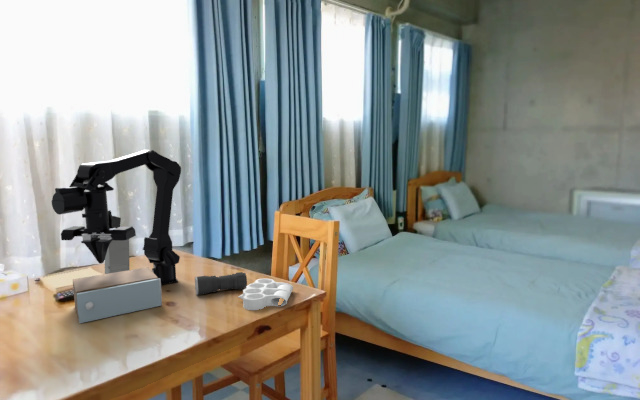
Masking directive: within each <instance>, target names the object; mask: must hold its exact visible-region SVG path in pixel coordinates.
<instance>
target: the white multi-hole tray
mask: <svg viewBox="0 0 640 400" xmlns="http://www.w3.org/2000/svg"><path fill="white" fill-rule="evenodd" d="M293 290H294V287H293V285H292V284H290V283H287V282H283V281H282V282H277V281H275V280H274V279H272V278H258V279H255V280H254V282H251V283H249V284H247V286H246V288H244V289H242V294H240V295H239V296H237V298H239V299H241V300H242V301H243V302H242V304H243V309H244V310H249V311H258V310H259V309H260V310H263V309H265V308H266V306H267V307H279V306H278V302H279V299H280V298H282V299H284V301H283V303H282V304H281V306H280V307H283V306H285V305H287V304H288V300H289V299H290V297H291V294H292V291H293ZM264 307H265V308H264Z"/></svg>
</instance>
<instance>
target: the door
mask: <svg viewBox="0 0 640 400" xmlns="http://www.w3.org/2000/svg"><path fill="white" fill-rule="evenodd" d="M76 294H77V304H78V315H79V320H78V323H79V324H83V323H87V322H88V323H89V322H93V321H96V320H101V319H105V318H110V317H114V316H119V315H120V316H121V315H125V314H128V313H133V312H137V311H143V310H147V309H151V308H152V309H153V308H157V307H161V306H163V295H162V285H161V279H160V278H158V279H152V280H147V281H141V282H136V283H131V284H125V285H120V286H114V287H109V288H103V289H98V290H92V291H87V292H82V293H76Z"/></svg>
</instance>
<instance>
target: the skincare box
mask: <svg viewBox="0 0 640 400" xmlns="http://www.w3.org/2000/svg"><path fill="white" fill-rule="evenodd" d="M127 270H130V239H128V240H112V241H111V243H110V245H109V247H108V250H107V253H106V256H105V260H104V274H109V273H115V272H121V271H127Z"/></svg>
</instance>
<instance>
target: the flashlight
mask: <svg viewBox="0 0 640 400" xmlns="http://www.w3.org/2000/svg"><path fill="white" fill-rule="evenodd" d="M247 285H248V279H247V275H246V272H242V271H240V272H239V271H238V272H235V273H231V274H227V275H219V276H216V275H210V276H209V275H200V276H199V275H198V276H195V277H194V287H195V288H194V289H195V295H196V296H200V295H208V294H210V293H216V292H217V291H218V290H220V291H224V290H232V289H233V290H244V289H246V286H247Z"/></svg>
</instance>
